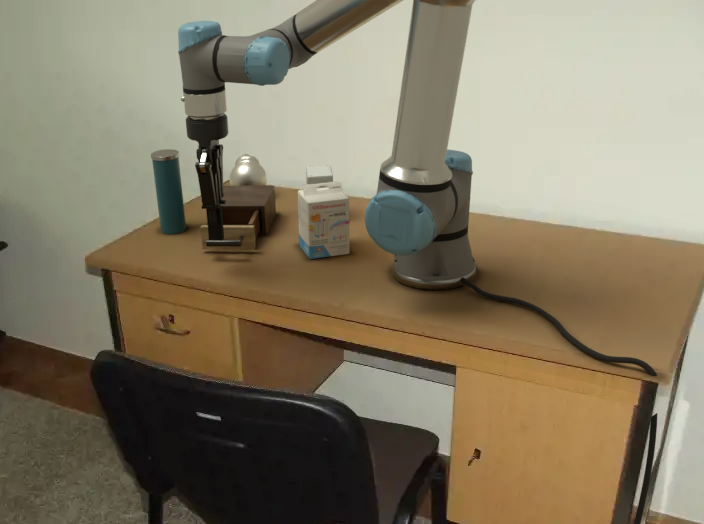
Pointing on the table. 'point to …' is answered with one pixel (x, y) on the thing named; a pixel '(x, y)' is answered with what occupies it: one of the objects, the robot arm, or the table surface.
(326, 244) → the ink box
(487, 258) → the table surface
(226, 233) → the drawer
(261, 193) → the cabinet
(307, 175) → the small box
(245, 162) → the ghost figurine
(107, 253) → the table surface
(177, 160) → the dark teal cylinder
